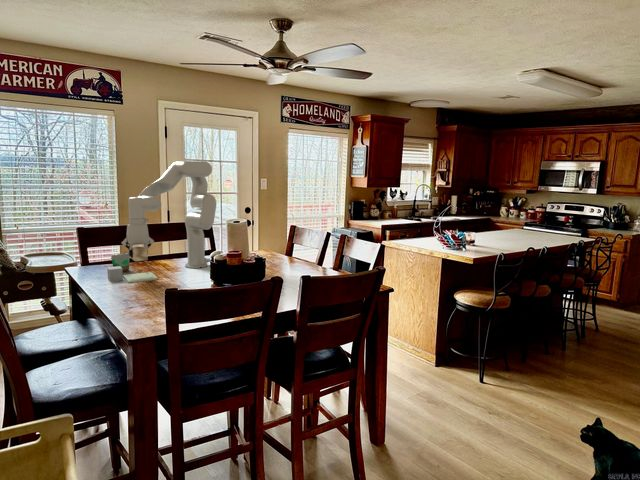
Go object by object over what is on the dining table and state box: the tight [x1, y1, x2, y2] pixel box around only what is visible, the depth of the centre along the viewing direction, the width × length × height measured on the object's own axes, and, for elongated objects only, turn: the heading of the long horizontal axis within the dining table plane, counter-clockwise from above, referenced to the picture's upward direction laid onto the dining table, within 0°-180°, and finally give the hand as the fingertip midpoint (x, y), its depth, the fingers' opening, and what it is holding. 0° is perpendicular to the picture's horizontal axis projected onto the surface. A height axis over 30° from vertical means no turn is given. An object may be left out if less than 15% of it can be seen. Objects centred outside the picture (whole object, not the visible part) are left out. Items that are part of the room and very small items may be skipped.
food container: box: [110, 250, 130, 273], centre depth 240 cm, size 12×6×10 cm, turn 168°
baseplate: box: [123, 271, 158, 284], centre depth 226 cm, size 14×14×1 cm
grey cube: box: [106, 266, 124, 282], centre depth 223 cm, size 6×6×6 cm
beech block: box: [129, 244, 149, 262], centre depth 224 cm, size 6×12×6 cm, turn 34°
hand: (138, 256), depth 224 cm, fingers closed on beech block, 6 cm apart
